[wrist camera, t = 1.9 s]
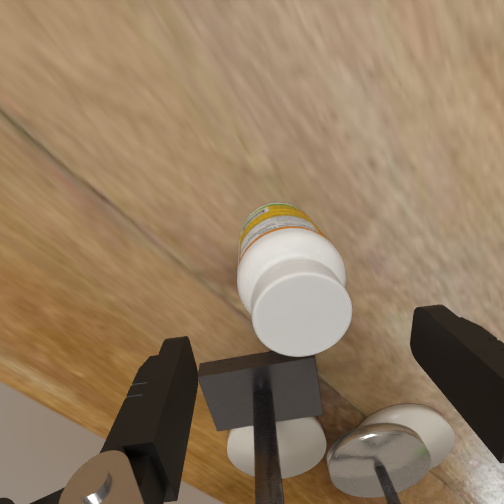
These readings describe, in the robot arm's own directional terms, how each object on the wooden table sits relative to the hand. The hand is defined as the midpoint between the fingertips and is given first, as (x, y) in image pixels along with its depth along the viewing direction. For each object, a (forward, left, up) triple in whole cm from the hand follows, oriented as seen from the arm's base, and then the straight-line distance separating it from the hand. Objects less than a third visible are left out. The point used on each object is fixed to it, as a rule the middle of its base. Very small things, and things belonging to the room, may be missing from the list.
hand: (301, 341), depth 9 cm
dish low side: (-11, +24, -11) cm, 28 cm away
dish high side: (+2, +22, -11) cm, 24 cm away
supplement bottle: (0, 0, -11) cm, 11 cm away
